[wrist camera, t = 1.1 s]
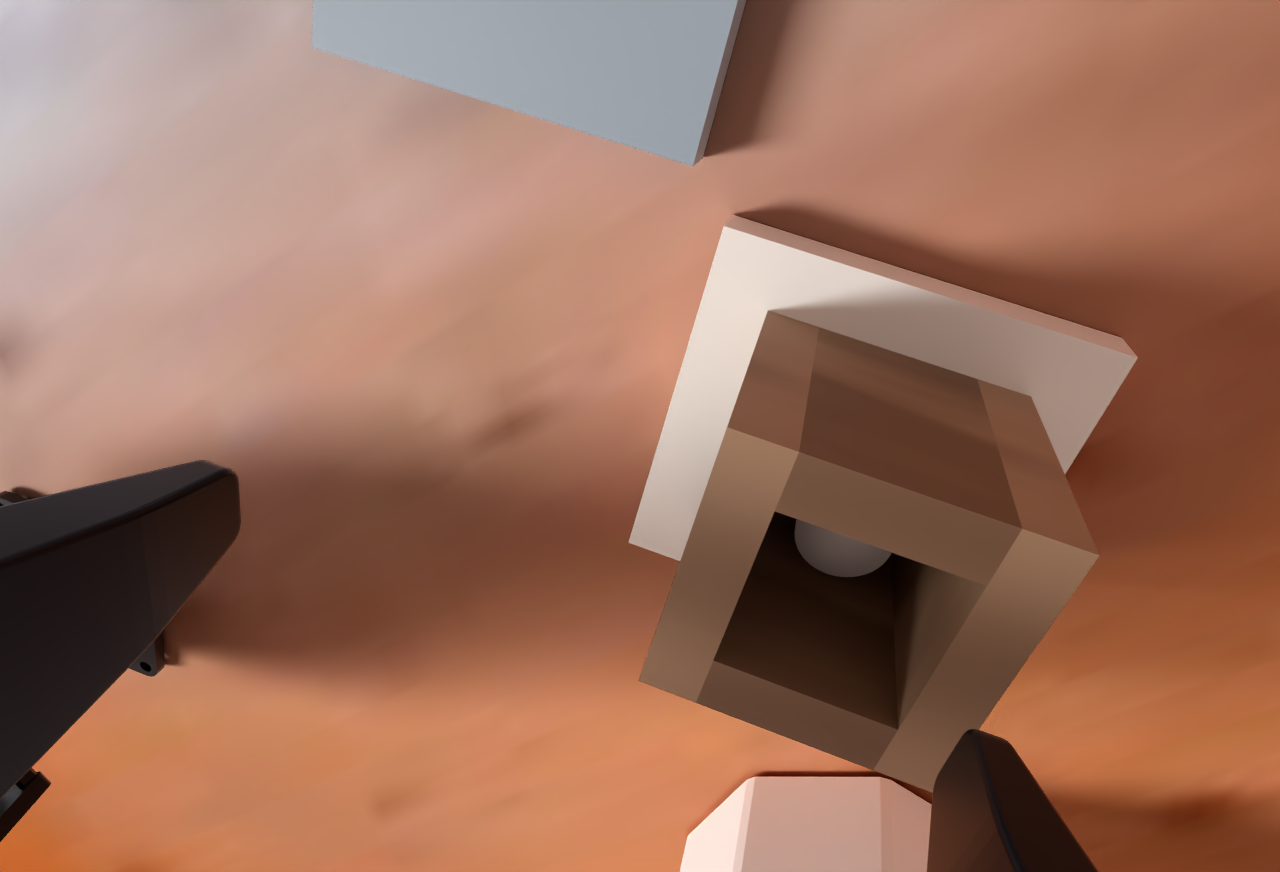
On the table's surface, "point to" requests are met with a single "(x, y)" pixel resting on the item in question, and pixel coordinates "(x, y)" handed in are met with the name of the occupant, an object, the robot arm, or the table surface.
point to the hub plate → (556, 59)
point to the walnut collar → (882, 517)
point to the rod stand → (876, 314)
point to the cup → (813, 828)
